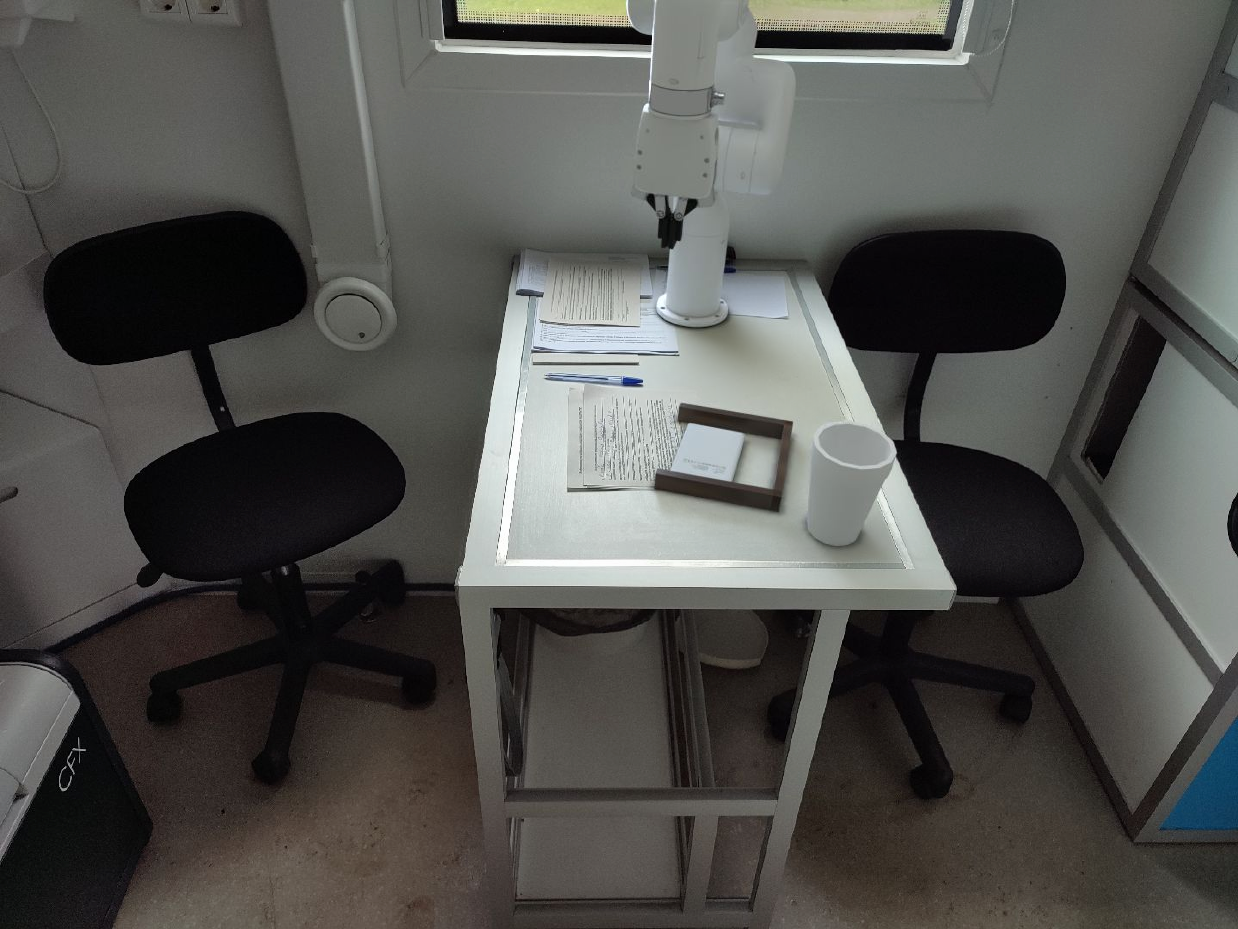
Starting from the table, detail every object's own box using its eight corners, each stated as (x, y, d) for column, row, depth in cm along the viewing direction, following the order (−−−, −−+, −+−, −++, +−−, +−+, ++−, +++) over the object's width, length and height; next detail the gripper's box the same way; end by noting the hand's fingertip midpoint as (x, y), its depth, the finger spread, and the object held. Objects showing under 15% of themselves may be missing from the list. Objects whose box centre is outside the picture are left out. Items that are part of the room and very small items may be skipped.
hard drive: (744, 442, 120) (728, 496, 111) (687, 431, 122) (666, 483, 112) (745, 433, 119) (730, 486, 110) (688, 422, 121) (667, 473, 111)
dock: (679, 416, 125) (680, 402, 123) (790, 435, 122) (793, 421, 121) (654, 488, 111) (655, 473, 110) (778, 512, 109) (781, 496, 107)
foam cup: (857, 565, 101) (882, 479, 94) (784, 537, 105) (802, 452, 97) (879, 520, 108) (905, 436, 100) (809, 495, 111) (828, 412, 104)
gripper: (747, 96, 103) (729, 241, 115) (626, 84, 106) (621, 226, 117) (738, 114, 98) (720, 264, 109) (611, 100, 100) (607, 248, 111)
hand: (669, 244), depth 113 cm, fingers closed
